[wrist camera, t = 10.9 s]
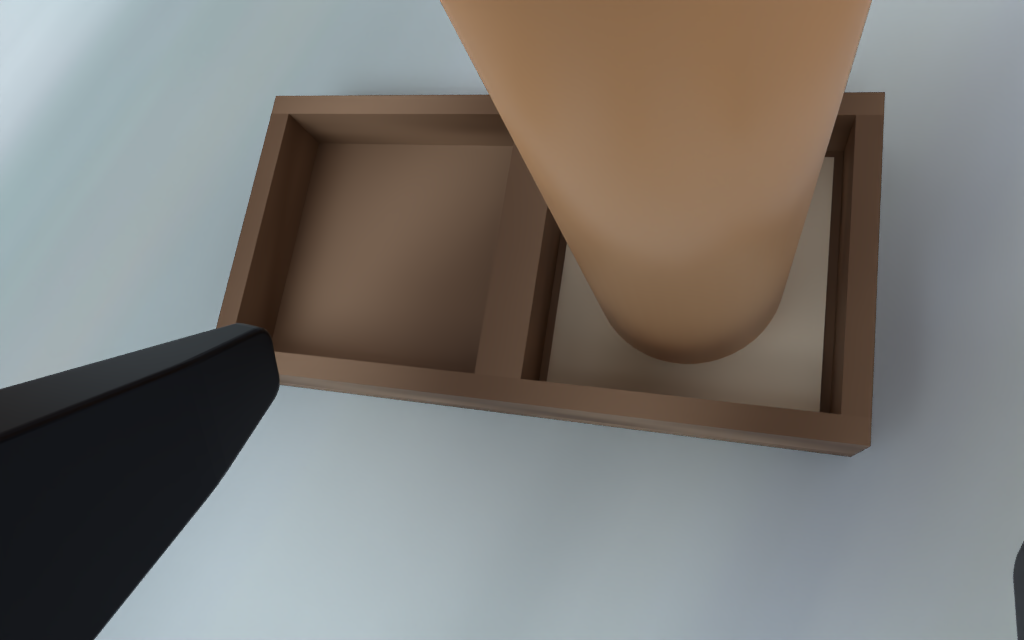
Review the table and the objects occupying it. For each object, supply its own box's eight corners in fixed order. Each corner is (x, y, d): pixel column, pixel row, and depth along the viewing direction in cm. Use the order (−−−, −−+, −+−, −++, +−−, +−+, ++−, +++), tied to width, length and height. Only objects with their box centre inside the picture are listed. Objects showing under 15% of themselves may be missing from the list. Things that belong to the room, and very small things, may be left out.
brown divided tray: (865, 142, 16) (884, 92, 14) (850, 456, 15) (870, 445, 13) (316, 135, 20) (276, 95, 19) (256, 381, 19) (206, 365, 17)
